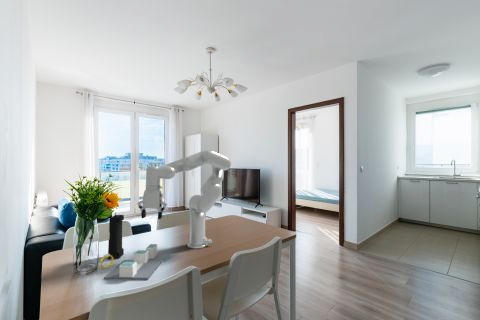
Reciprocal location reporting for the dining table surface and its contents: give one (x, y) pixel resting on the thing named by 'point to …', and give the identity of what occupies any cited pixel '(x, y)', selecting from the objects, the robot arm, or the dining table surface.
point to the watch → (105, 257)
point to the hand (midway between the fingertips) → (151, 218)
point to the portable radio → (115, 237)
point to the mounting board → (139, 274)
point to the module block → (152, 251)
